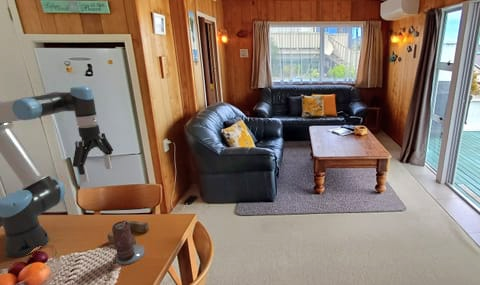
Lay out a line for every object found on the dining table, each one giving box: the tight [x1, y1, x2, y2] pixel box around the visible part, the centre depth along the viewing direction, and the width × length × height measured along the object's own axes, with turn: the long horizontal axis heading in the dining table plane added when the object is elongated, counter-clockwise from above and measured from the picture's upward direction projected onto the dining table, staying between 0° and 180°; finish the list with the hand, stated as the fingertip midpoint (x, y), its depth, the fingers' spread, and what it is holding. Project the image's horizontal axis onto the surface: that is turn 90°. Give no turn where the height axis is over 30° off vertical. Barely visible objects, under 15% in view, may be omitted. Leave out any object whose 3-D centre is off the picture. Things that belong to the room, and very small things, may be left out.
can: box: [111, 220, 135, 261], centre depth 111 cm, size 6×6×14 cm
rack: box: [107, 220, 150, 245], centre depth 126 cm, size 12×12×4 cm
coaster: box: [114, 244, 146, 266], centre depth 115 cm, size 11×11×1 cm
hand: (97, 174), depth 123 cm, fingers open, 13 cm apart
